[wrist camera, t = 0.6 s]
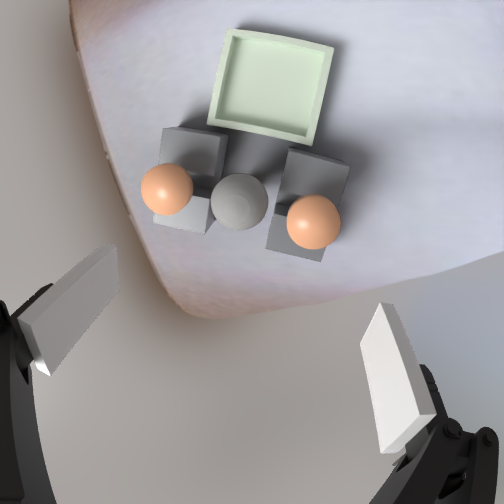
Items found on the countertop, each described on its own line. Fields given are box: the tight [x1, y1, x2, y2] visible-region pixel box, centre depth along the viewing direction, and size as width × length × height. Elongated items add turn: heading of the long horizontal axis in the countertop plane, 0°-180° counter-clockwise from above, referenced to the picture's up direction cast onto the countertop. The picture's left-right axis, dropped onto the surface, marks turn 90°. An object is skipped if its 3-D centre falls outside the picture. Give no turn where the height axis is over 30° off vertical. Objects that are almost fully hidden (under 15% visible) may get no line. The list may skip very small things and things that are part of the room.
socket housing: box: [153, 127, 350, 262], centre depth 32 cm, size 11×20×4 cm, turn 79°
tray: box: [207, 28, 334, 146], centre depth 28 cm, size 12×12×2 cm
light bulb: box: [211, 173, 268, 230], centre depth 30 cm, size 6×6×10 cm
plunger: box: [141, 163, 193, 216], centre depth 29 cm, size 5×5×6 cm
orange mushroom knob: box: [287, 194, 341, 249], centre depth 29 cm, size 5×5×6 cm
